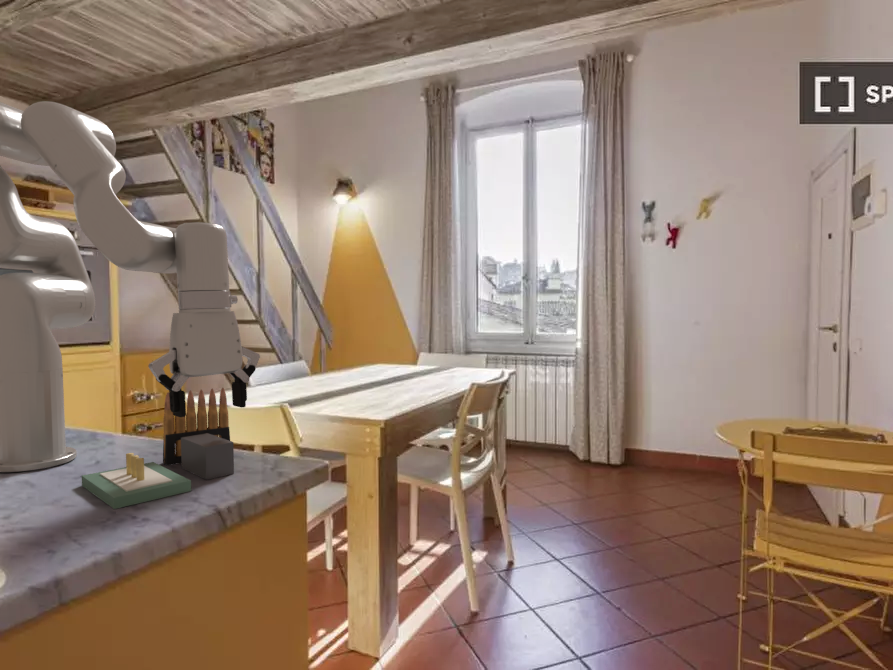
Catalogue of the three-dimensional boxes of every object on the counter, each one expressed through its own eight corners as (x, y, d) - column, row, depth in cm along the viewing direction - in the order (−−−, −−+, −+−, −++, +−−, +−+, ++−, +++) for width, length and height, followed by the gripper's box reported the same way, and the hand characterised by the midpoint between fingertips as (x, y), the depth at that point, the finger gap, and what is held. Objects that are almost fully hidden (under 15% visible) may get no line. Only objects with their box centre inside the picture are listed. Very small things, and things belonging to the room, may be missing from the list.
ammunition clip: (165, 465, 96) (163, 393, 95) (162, 463, 97) (160, 392, 97) (231, 455, 102) (229, 387, 102) (228, 453, 104) (226, 386, 103)
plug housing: (181, 468, 94) (180, 437, 94) (208, 462, 98) (207, 433, 97) (206, 479, 88) (205, 447, 88) (233, 473, 91) (233, 442, 91)
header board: (81, 485, 85) (80, 454, 85) (153, 471, 93) (152, 442, 92) (114, 509, 76) (112, 473, 75) (191, 490, 83) (190, 458, 83)
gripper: (244, 302, 100) (249, 401, 101) (136, 305, 88) (143, 417, 88) (267, 301, 95) (272, 405, 96) (156, 303, 82) (163, 423, 83)
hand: (210, 411), depth 92 cm, fingers open, 9 cm apart
